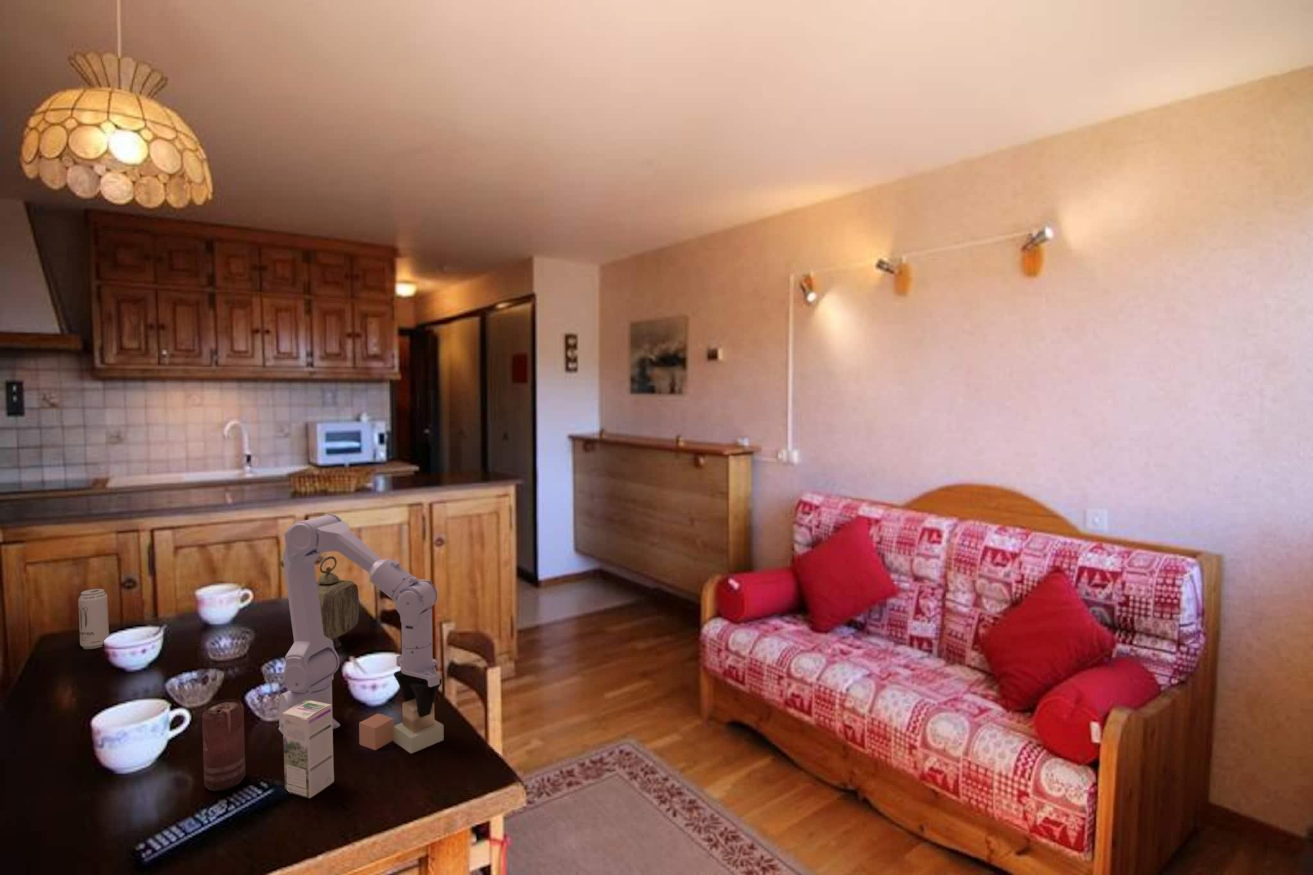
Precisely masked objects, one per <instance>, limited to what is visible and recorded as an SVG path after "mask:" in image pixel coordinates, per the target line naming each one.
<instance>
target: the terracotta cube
mask: <svg viewBox="0 0 1313 875" xmlns="http://www.w3.org/2000/svg"><path fill="white" fill-rule="evenodd" d="M358 724H359V725H358V727H359V728H358V730H359V732H358V733H359V734H358V735H359V739H358V740H359V742H358V743H359V745H360V746H362V747H365V748H368V749H371V750H373V751H377V750H378V749H380V748H382V747H384V746H386V745H387V744H389V743H390V742H394V741H393V726H394V725H395V719H394V717H390V716H387V715H384V714H382V713H375V714H374V715H372V716H370V717H368V718H366V719H364V720H362V721H360V722H359V723H358Z"/></svg>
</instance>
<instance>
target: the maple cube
mask: <svg viewBox="0 0 1313 875" xmlns="http://www.w3.org/2000/svg"><path fill="white" fill-rule="evenodd" d="M401 703H402V705H401V706H402V722H403V725H404V726H405V727H406V728H408V729H409V730H410V731H411V732H413V733H414V732H416V731H419V730H422V729H425V728H427V727H430V726H433V725H435V724H434V719H435V702H433V705H432V709H431V713H430V714H429V715H426V716H423V717H419V715H418V710H417V702H416V698H415V699H413V700H410V701H407V702H404V701H403V702H401Z"/></svg>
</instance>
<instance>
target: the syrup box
mask: <svg viewBox="0 0 1313 875" xmlns="http://www.w3.org/2000/svg"><path fill="white" fill-rule="evenodd" d="M332 718H333V704H332V705H330V704H326V703H321V702H316V701H311V700H306V701H304V702H301V703H299V704H297V705H295V706H293V707H292V708H290V709H288V710H287V711H285V712H284V713H283V734H282V735H283V736H282V738H283V764H284V765H283V767H284V769H283V770H284V790H285V789H286V790H287V791H288V792H289V793H288V794H292V795H295V796H299V797H303V798H306V799H307V798H308V799H311V798H313V797H314V796H316V795H317V794H319V793H320V792H322V791H323V790H325V789H326V788H327V787H329V786H331V785H332V784H333V783H335V782H334V781H335V772H334V770H335V769H334V766H335V765H334V736H333V733H334V729H333V727H332Z"/></svg>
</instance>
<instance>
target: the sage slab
mask: <svg viewBox="0 0 1313 875" xmlns="http://www.w3.org/2000/svg"><path fill="white" fill-rule="evenodd" d="M434 724H435V725H433V726H430V727H427V728H425V729H422V730H419V731H416V732H414V733H413V732H411V731H410V730H409V729H408V728H406V727H405V726H404V725H403V721H402V722H400V723H397V724H394V726H393V741H392V742H393V743H394V744H396V745H398V746H399V747H401V748H402V749H404V750H405V751H406V752H408V753H409V754H414V753H416V752H419V751H422V750H424V749H425V748H427V747H430V746H433V745H435V744H437V743H440V742H442V741H444V738H445V737H444V732H445V731H444V730H445V728H444V724H443V723H441V722H439V721H437V720H436V719H435V718H434Z"/></svg>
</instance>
